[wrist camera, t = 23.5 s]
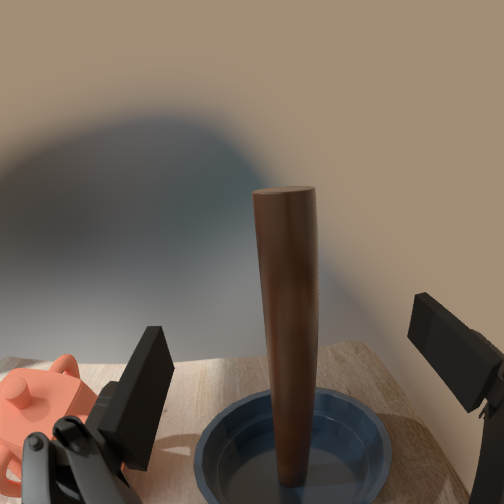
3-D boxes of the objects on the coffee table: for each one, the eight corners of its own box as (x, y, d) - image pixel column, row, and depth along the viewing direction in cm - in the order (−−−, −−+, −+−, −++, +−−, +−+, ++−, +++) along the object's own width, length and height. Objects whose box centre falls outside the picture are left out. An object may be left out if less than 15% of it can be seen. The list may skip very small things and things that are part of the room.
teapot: (174, 484, 18) (117, 400, 14) (60, 546, 7) (-43, 475, 3) (100, 402, 28) (59, 320, 25) (15, 445, 17) (-42, 365, 13)
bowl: (350, 409, 26) (358, 373, 24) (393, 521, 11) (418, 500, 9) (213, 427, 26) (202, 393, 24) (206, 549, 11) (185, 538, 9)
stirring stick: (304, 464, 19) (306, 184, 12) (308, 485, 17) (322, 189, 10) (276, 468, 19) (250, 189, 12) (279, 489, 17) (253, 194, 10)
